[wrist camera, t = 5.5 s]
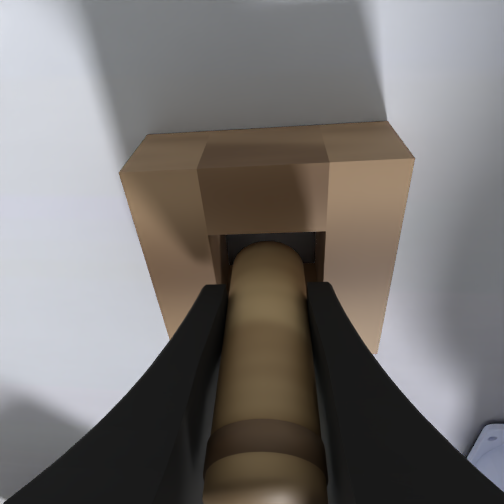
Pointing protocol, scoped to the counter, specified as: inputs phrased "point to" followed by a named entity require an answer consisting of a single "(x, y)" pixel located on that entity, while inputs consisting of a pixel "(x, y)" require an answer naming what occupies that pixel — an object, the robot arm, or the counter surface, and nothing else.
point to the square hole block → (272, 208)
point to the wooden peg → (266, 389)
